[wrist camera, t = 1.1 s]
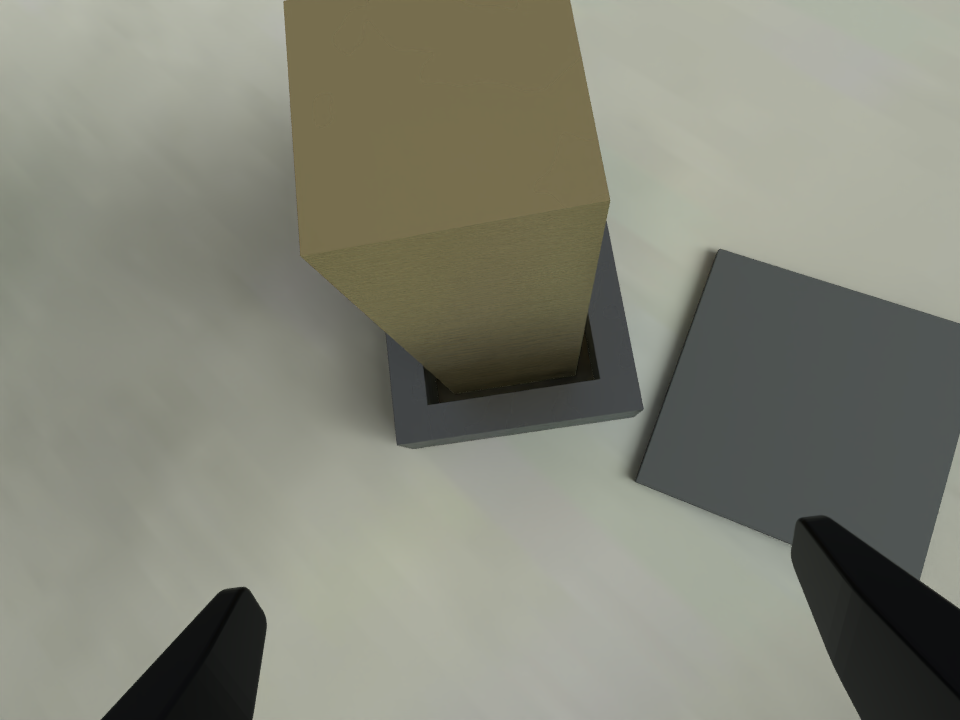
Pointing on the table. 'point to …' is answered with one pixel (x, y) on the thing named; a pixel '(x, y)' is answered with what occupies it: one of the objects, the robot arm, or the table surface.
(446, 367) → the tan rectangular block
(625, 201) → the table surface
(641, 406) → the grey tray
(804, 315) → the rubber pad
